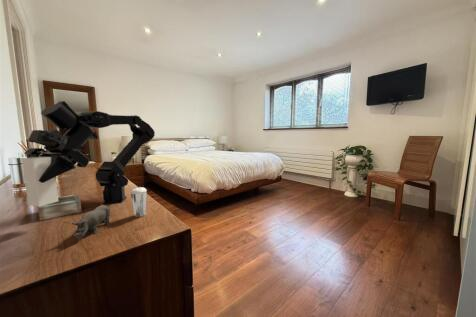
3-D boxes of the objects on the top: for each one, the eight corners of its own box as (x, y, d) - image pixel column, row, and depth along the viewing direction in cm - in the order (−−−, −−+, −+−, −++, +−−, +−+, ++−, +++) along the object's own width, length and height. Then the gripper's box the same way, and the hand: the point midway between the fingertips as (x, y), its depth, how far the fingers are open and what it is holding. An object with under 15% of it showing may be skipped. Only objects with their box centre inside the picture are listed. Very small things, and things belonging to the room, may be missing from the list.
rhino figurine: (63, 246, 46) (60, 222, 45) (101, 221, 59) (99, 202, 59) (82, 246, 46) (79, 221, 45) (115, 220, 60) (113, 201, 59)
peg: (47, 199, 58) (42, 156, 57) (58, 201, 57) (53, 157, 55) (28, 205, 54) (21, 158, 52) (39, 206, 53) (33, 158, 51)
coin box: (78, 204, 74) (77, 194, 74) (81, 211, 67) (80, 200, 66) (41, 211, 67) (40, 200, 67) (39, 220, 60) (38, 207, 60)
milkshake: (133, 212, 65) (131, 183, 64) (150, 212, 66) (148, 183, 65) (127, 218, 61) (124, 187, 60) (144, 217, 61) (142, 186, 60)
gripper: (28, 121, 59) (-22, 162, 50) (74, 119, 54) (27, 165, 45) (61, 146, 67) (23, 185, 58) (103, 146, 62) (68, 189, 53)
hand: (34, 181), depth 53 cm, fingers closed on peg, 4 cm apart
